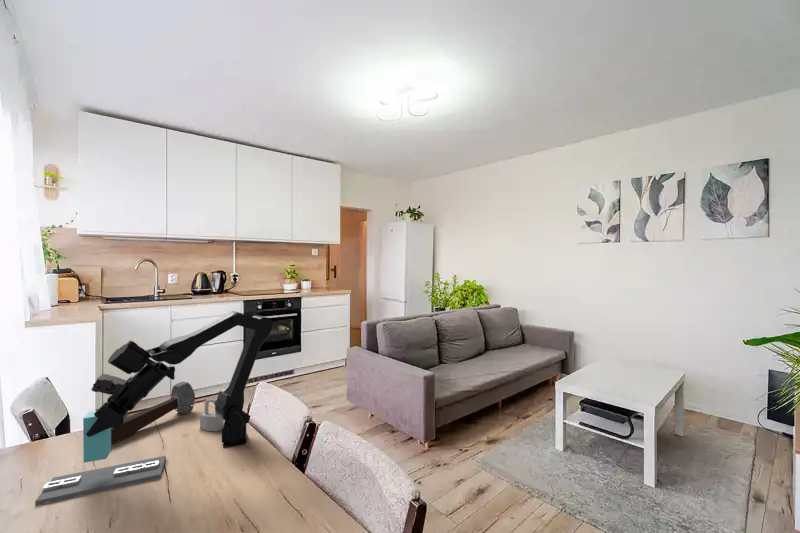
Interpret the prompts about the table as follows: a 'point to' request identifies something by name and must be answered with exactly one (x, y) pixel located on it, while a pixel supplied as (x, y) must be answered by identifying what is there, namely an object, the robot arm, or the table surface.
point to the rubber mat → (101, 480)
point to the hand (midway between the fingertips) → (90, 431)
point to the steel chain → (117, 473)
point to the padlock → (210, 419)
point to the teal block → (95, 441)
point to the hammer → (157, 412)
